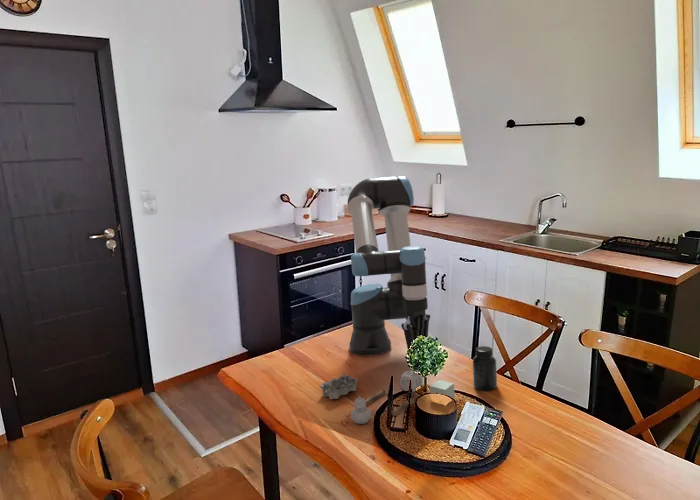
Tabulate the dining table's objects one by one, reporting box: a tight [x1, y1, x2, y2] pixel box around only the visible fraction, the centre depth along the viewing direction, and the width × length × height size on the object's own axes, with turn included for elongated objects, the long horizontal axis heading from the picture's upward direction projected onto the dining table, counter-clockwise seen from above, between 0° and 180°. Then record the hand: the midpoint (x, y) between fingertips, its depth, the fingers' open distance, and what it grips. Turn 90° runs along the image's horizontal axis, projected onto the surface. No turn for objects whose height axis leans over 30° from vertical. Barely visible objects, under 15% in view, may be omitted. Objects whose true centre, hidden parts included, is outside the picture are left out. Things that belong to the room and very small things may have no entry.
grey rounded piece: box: [350, 394, 372, 425], centre depth 135 cm, size 5×7×8 cm
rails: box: [364, 389, 416, 417], centre depth 144 cm, size 10×12×1 cm
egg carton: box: [319, 373, 359, 400], centre depth 153 cm, size 11×8×4 cm
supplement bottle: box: [472, 345, 498, 392], centre depth 150 cm, size 7×7×12 cm
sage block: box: [429, 379, 456, 401], centre depth 144 cm, size 5×5×5 cm
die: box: [399, 370, 424, 393], centre depth 153 cm, size 5×5×5 cm
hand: (419, 370), depth 156 cm, fingers closed
